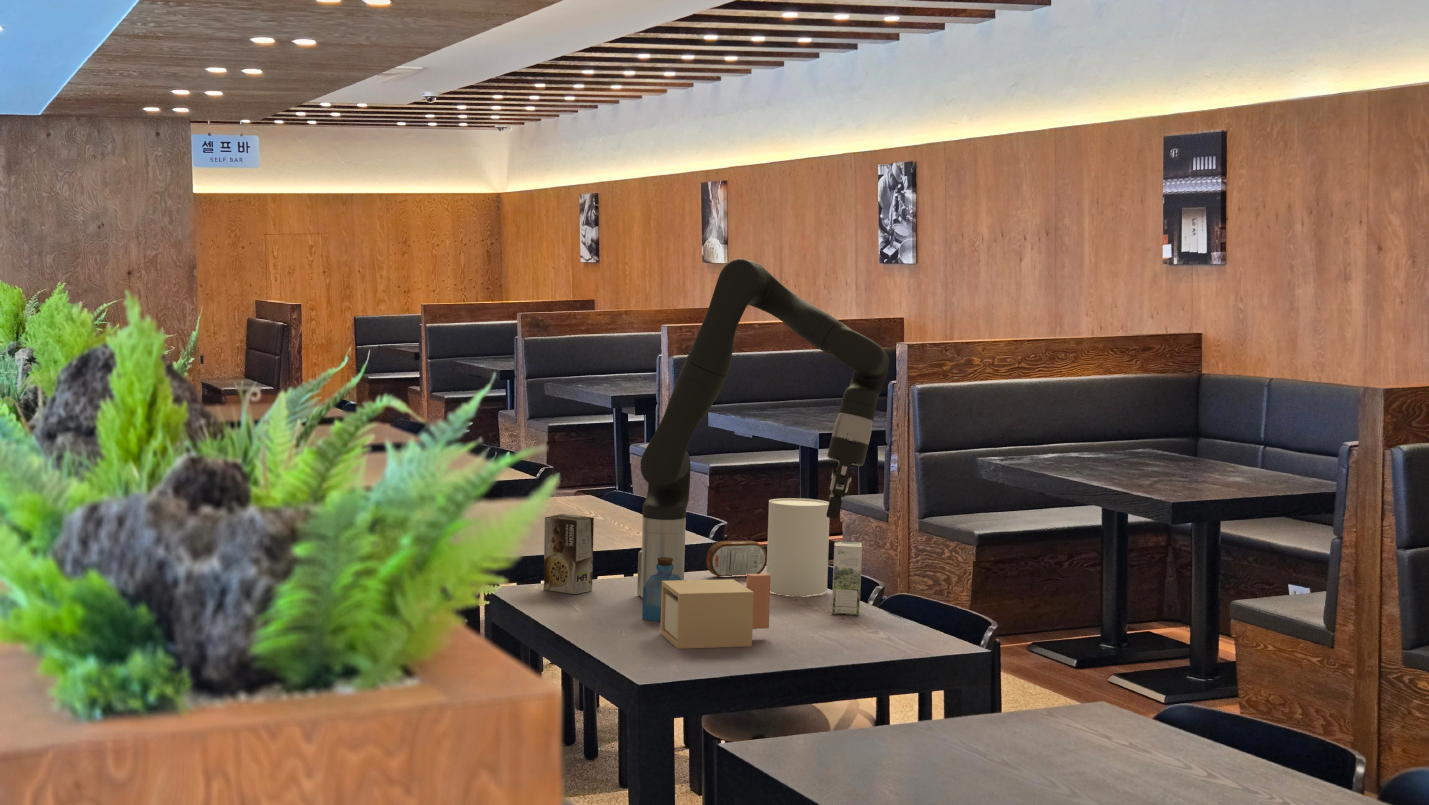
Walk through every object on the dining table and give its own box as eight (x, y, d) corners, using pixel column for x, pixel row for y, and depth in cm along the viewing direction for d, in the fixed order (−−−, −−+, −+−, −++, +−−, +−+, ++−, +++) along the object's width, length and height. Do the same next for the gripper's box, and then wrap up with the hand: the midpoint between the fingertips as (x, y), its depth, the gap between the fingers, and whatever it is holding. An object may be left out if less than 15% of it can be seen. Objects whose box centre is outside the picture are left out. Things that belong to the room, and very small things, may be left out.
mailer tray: (678, 641, 258) (680, 581, 258) (664, 628, 268) (666, 571, 268) (775, 638, 263) (777, 579, 263) (758, 626, 273) (760, 569, 273)
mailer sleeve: (677, 648, 257) (679, 593, 256) (660, 633, 269) (661, 580, 269) (751, 646, 261) (753, 592, 260) (731, 631, 273) (733, 579, 273)
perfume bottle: (684, 617, 285) (685, 557, 284) (670, 622, 279) (672, 562, 279) (656, 614, 288) (658, 554, 287) (642, 619, 282) (643, 559, 281)
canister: (819, 599, 309) (823, 507, 308) (759, 594, 313) (762, 503, 312) (832, 588, 322) (835, 500, 321) (774, 584, 326) (777, 496, 325)
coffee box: (593, 591, 310) (595, 517, 309) (575, 595, 305) (577, 520, 304) (560, 585, 315) (562, 513, 314) (541, 589, 310) (543, 515, 309)
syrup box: (859, 610, 298) (862, 541, 297) (859, 616, 292) (862, 545, 291) (832, 609, 298) (834, 540, 297) (831, 614, 292) (834, 544, 292)
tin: (762, 574, 339) (763, 539, 338) (768, 576, 336) (769, 541, 335) (704, 577, 332) (705, 541, 332) (709, 579, 330) (710, 543, 329)
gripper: (831, 437, 294) (812, 514, 292) (833, 432, 279) (813, 512, 278) (866, 446, 293) (848, 523, 292) (870, 441, 279) (851, 522, 278)
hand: (831, 518), depth 285 cm, fingers open, 8 cm apart
